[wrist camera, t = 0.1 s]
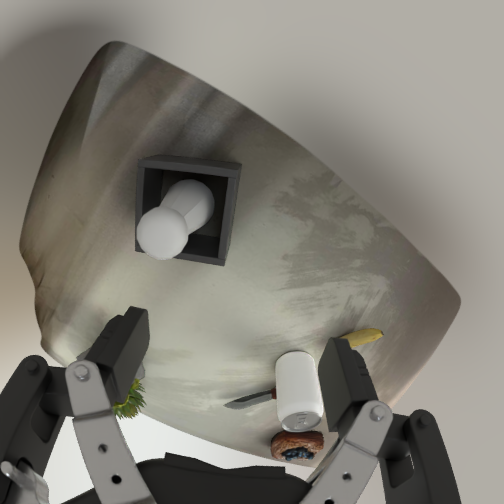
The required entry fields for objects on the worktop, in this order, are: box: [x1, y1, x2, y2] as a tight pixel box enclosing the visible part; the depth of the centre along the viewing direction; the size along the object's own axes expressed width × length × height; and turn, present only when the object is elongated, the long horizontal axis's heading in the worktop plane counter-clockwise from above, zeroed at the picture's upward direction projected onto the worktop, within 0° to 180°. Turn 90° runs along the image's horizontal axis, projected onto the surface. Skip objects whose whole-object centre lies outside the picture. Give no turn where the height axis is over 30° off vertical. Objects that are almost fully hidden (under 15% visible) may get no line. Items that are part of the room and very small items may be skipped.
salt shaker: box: [137, 179, 215, 260], centre depth 27 cm, size 6×6×13 cm
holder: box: [135, 155, 242, 266], centre depth 30 cm, size 10×10×6 cm
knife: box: [223, 388, 277, 409], centre depth 44 cm, size 18×2×3 cm, turn 116°
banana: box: [340, 328, 384, 348], centre depth 38 cm, size 10×2×4 cm, turn 128°
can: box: [275, 351, 323, 432], centre depth 37 cm, size 6×6×12 cm
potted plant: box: [77, 348, 147, 419], centre depth 39 cm, size 12×13×15 cm
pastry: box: [271, 430, 324, 461], centre depth 52 cm, size 11×12×6 cm
